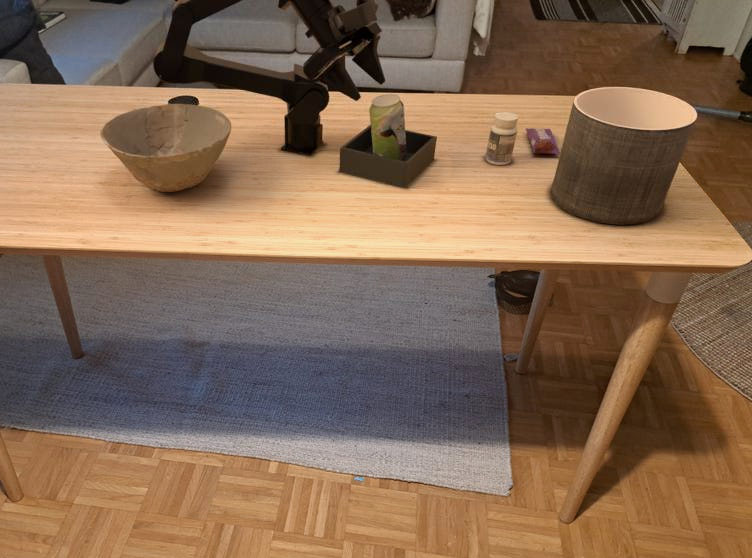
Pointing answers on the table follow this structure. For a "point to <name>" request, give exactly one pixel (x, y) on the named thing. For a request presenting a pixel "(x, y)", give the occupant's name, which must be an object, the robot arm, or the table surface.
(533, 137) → the snack package
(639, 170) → the planter
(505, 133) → the pill bottle
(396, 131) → the beverage can
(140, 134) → the ceramic bowl
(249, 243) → the table surface
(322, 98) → the robot arm
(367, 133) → the square storage tray
